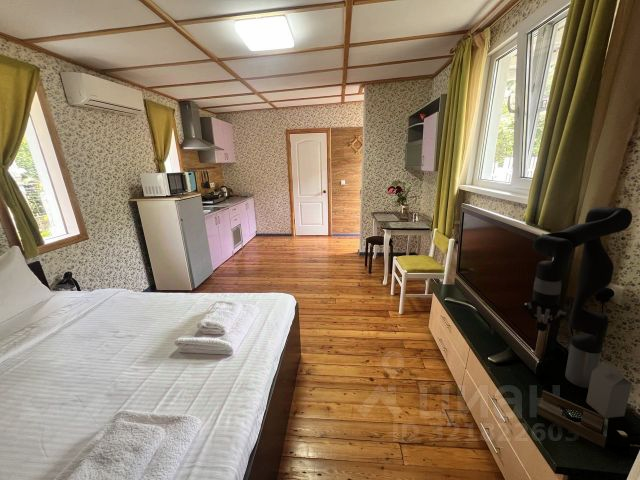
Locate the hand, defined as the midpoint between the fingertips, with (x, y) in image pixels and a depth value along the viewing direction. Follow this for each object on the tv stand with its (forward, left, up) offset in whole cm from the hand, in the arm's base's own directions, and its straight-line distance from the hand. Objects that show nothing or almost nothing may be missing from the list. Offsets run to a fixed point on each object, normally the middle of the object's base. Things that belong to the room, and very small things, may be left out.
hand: (541, 330), depth 100 cm
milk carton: (-10, +20, -32) cm, 39 cm away
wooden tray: (+4, +12, -32) cm, 34 cm away
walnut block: (+5, +17, -30) cm, 35 cm away
